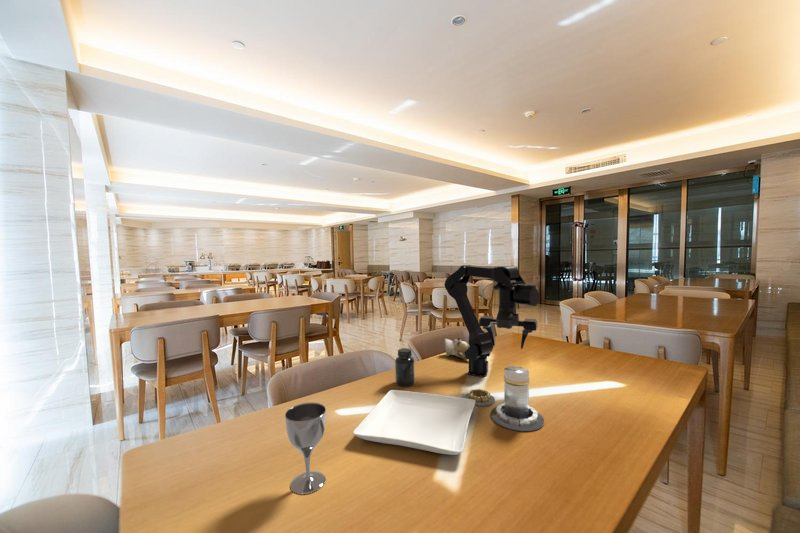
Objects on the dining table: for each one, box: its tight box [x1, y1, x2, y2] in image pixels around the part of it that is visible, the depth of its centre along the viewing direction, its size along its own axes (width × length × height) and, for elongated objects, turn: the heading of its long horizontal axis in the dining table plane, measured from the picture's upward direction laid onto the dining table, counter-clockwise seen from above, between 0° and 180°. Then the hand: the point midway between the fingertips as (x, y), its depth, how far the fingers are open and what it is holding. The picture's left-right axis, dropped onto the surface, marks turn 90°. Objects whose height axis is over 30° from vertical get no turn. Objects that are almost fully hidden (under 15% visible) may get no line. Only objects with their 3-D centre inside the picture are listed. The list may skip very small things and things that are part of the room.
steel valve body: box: [503, 365, 530, 419], centre depth 93 cm, size 7×7×13 cm
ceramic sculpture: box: [444, 337, 470, 361], centre depth 147 cm, size 11×9×15 cm
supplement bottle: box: [394, 347, 416, 388], centre depth 119 cm, size 7×7×12 cm
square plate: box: [352, 389, 476, 456], centre depth 90 cm, size 27×27×4 cm
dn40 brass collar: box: [464, 388, 495, 407], centre depth 105 cm, size 9×9×2 cm
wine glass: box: [284, 402, 327, 495], centre depth 69 cm, size 8×8×15 cm
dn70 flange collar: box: [490, 402, 545, 433], centre depth 93 cm, size 14×14×2 cm
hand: (507, 347), depth 116 cm, fingers open, 9 cm apart
